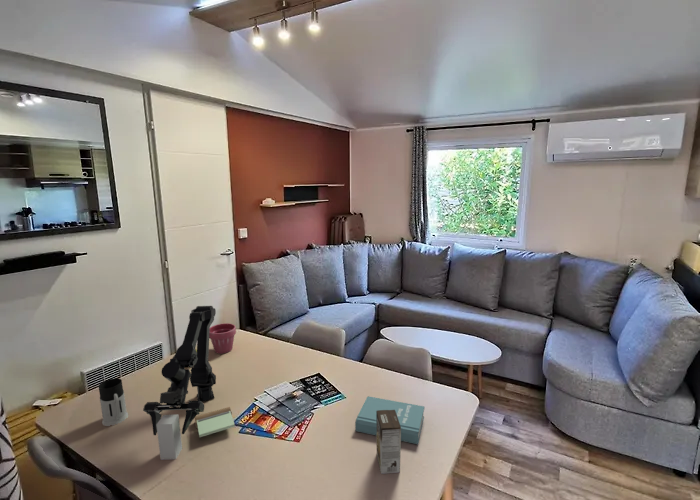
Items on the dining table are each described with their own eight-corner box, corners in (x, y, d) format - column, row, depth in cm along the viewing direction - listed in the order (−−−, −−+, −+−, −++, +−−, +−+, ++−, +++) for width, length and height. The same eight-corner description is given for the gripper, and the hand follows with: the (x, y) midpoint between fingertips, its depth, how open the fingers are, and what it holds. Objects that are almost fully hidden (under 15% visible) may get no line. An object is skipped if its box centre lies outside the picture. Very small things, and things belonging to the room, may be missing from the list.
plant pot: (204, 355, 195) (202, 332, 192) (218, 343, 208) (216, 322, 206) (229, 356, 192) (227, 334, 190) (241, 345, 206) (240, 323, 204)
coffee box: (375, 453, 123) (375, 409, 120) (394, 451, 123) (395, 408, 120) (380, 474, 114) (380, 428, 111) (400, 472, 114) (401, 426, 111)
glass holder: (125, 408, 149) (120, 375, 146) (135, 424, 139) (130, 388, 136) (99, 418, 143) (94, 383, 140) (108, 436, 133) (102, 398, 130)
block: (167, 448, 126) (163, 414, 124) (182, 448, 126) (178, 414, 124) (160, 459, 121) (156, 424, 119) (176, 459, 122) (172, 424, 119)
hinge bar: (195, 422, 140) (194, 416, 139) (230, 412, 146) (229, 406, 145) (196, 428, 136) (195, 422, 136) (232, 418, 142) (231, 412, 142)
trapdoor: (196, 422, 136) (196, 419, 136) (230, 413, 141) (230, 410, 141) (199, 437, 128) (199, 434, 128) (234, 426, 133) (234, 423, 133)
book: (424, 418, 141) (424, 406, 140) (417, 446, 126) (418, 433, 125) (367, 407, 149) (367, 396, 148) (355, 432, 134) (355, 420, 133)
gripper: (142, 380, 124) (128, 431, 115) (198, 378, 125) (189, 429, 116) (156, 389, 133) (144, 437, 124) (208, 387, 134) (200, 435, 125)
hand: (168, 434), depth 122 cm, fingers open, 9 cm apart
